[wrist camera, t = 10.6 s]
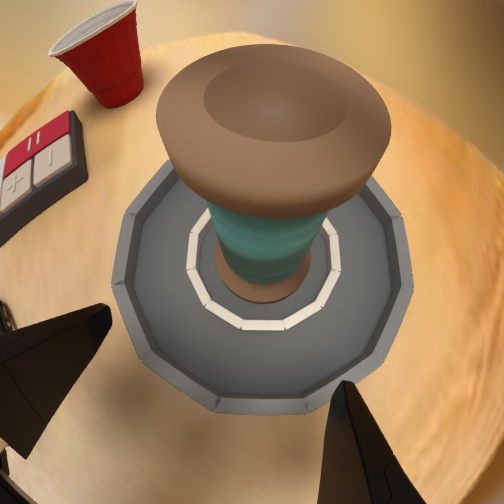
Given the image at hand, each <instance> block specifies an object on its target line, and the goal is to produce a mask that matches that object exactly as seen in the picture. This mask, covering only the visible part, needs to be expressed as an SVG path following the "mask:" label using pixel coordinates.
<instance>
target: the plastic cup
mask: <svg viewBox="0 0 504 504" xmlns="http://www.w3.org/2000/svg"><path fill="white" fill-rule="evenodd" d="M136 6H137V0H127V1H124V2H120V3H117V4H115V5H112V6H110V7H107V8H105V9H104V10H101V11H99V12H97V13H95V14H93V15H92V16H90V17H88V18H87V19H85V20H84V21H82V22H80V23H79V24H77V25H76V26H75V27H73V28H72V29H71V30H69V31H68V32H67V33H66V34H64V35H63V36H62V37H61V38H60V39H59V40H58V41H57V42H56V43H55V44H54V45H53V46H52V47H51V49H50V50H49V52H48V53H49V56H51V57H56V58H57V59H59V60H60V61H62V62H63V63H64V64H65V65H66V66H68V67H69V68H70V69H71V70H72V71H73V73H74V74H75V75H76V76H77V77H78V78H79V79H80V81H81V82H82V83H83V84H84V85H85V86H86V87H87V89H88V90H89V91H90V92H92V93H93V94H94V95H95V97H96V98H97V99H98V100H99V102H100V103H101V104H102V105H104V106H105V107H107V108H115V107H119V106H121V105H124V104H126V103H128V102H129V101H131V100H133V99H134V98H135V97H136V96H137V95H139V94H140V92H141V91H142V89H143V75H142V69H141V57H140V51H139V44H138V36H137V28H136V25H137V23H136V12H135V11H136Z"/></svg>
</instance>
